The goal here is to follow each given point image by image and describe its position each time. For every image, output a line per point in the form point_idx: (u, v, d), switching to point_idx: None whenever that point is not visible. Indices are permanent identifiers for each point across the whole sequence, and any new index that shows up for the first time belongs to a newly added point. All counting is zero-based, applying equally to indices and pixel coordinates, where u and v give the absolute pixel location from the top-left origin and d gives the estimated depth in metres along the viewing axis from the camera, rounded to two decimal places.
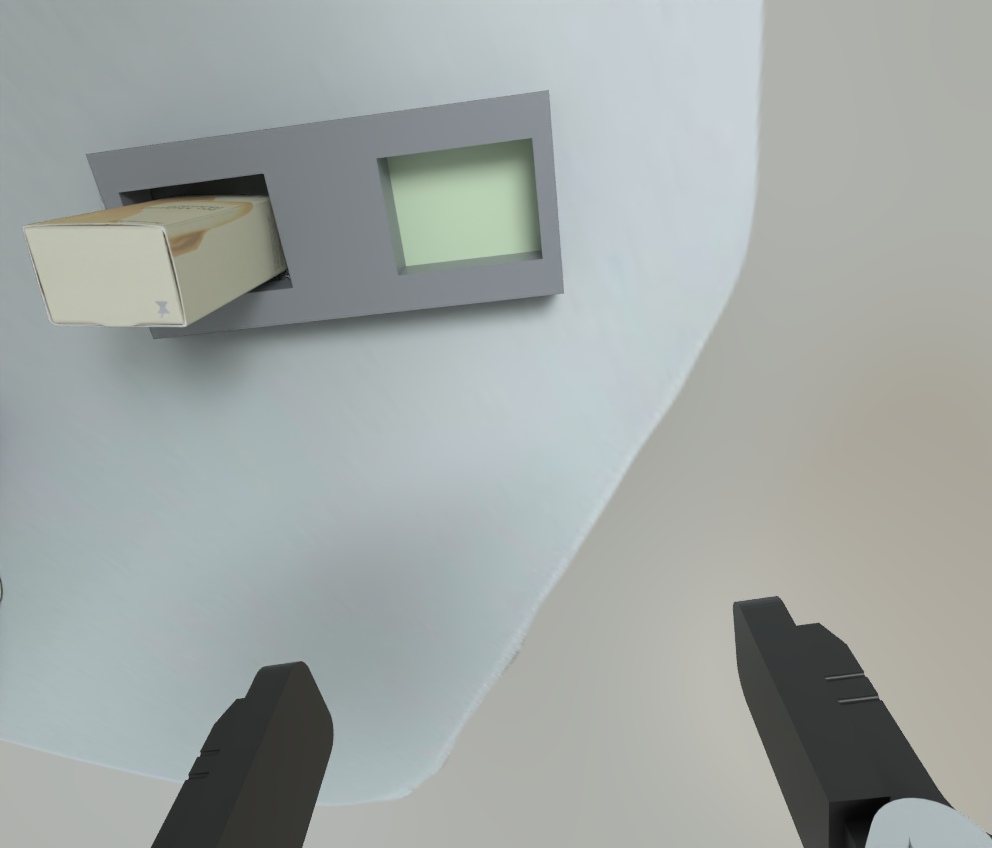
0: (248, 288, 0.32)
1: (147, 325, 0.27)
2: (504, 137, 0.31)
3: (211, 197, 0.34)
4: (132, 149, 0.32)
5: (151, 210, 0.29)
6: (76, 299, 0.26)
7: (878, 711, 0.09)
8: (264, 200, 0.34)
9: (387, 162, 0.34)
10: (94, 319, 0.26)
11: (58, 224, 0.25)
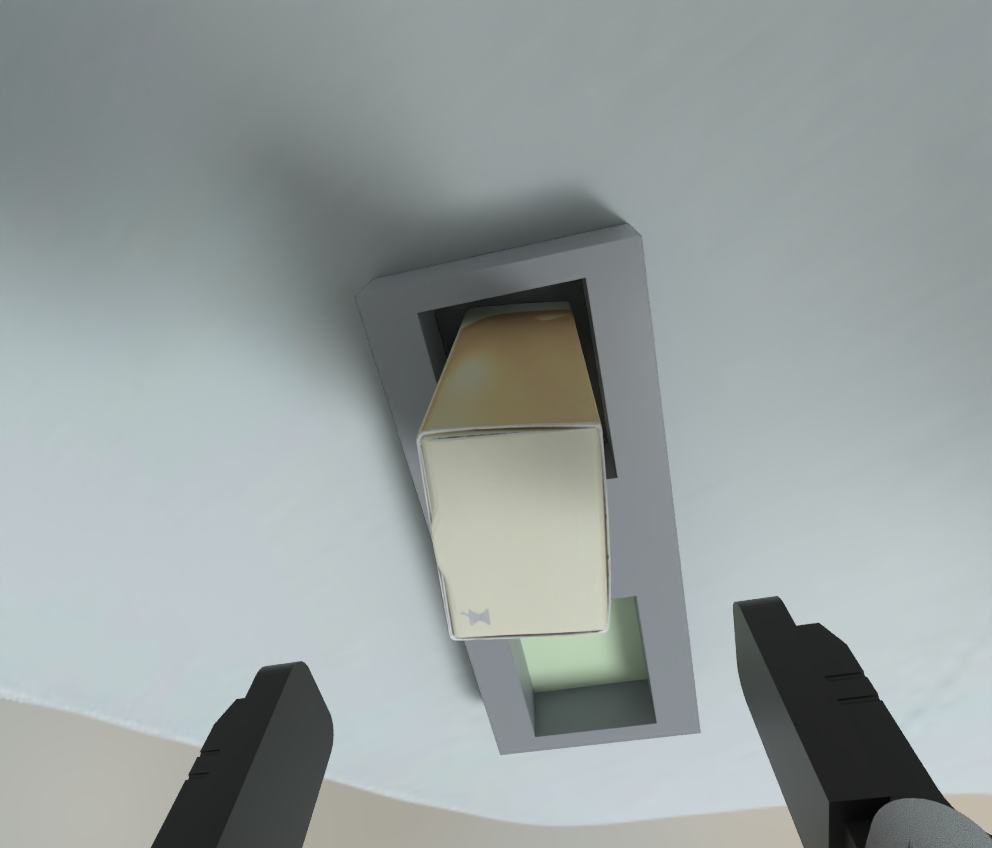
0: None
1: (443, 586, 0.16)
2: (657, 703, 0.30)
3: None
4: (647, 309, 0.22)
5: None
6: (475, 492, 0.14)
7: (878, 711, 0.09)
8: None
9: None
10: (441, 513, 0.15)
11: (605, 482, 0.14)
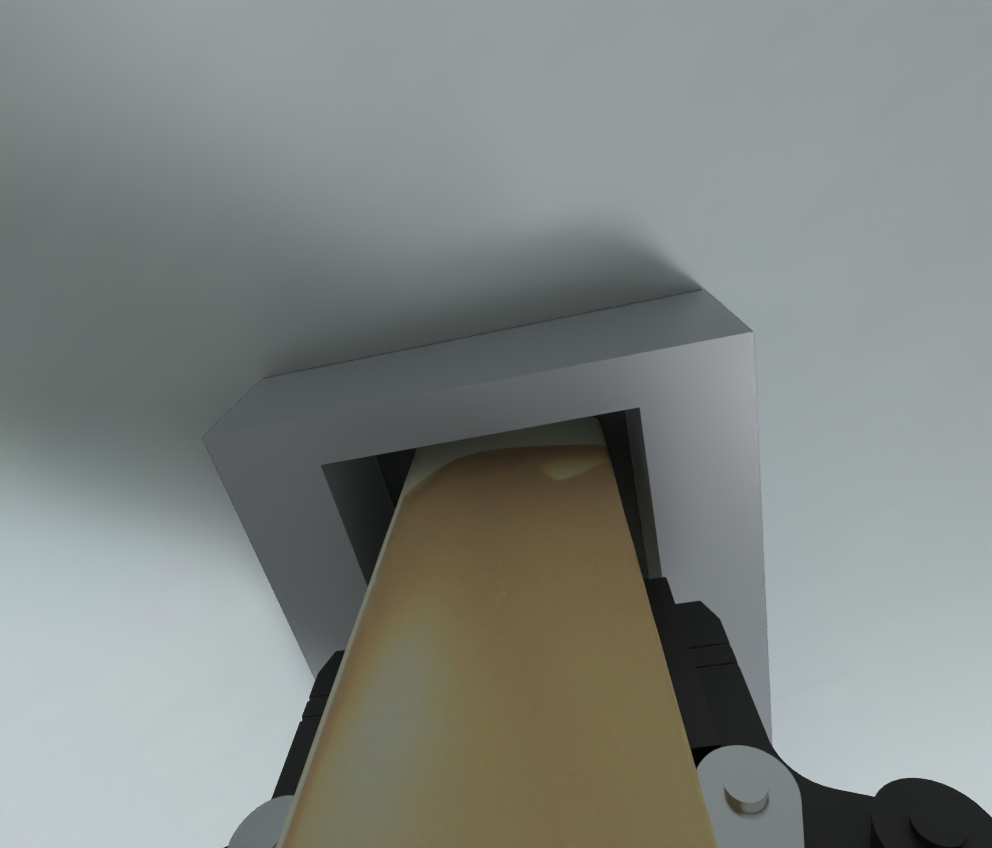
0: None
1: None
2: None
3: None
4: (755, 463, 0.11)
5: None
6: None
7: (734, 676, 0.10)
8: None
9: None
10: None
11: None
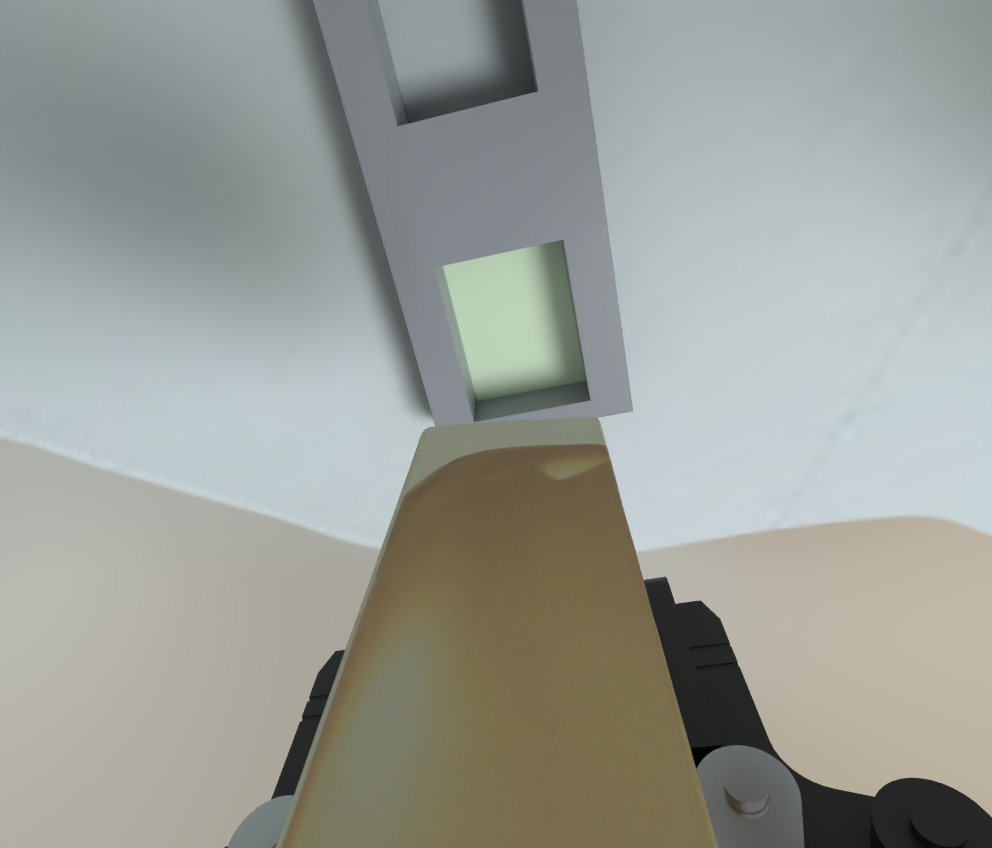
0: None
1: None
2: (590, 374, 0.30)
3: None
4: None
5: None
6: None
7: (734, 676, 0.09)
8: None
9: None
10: None
11: None
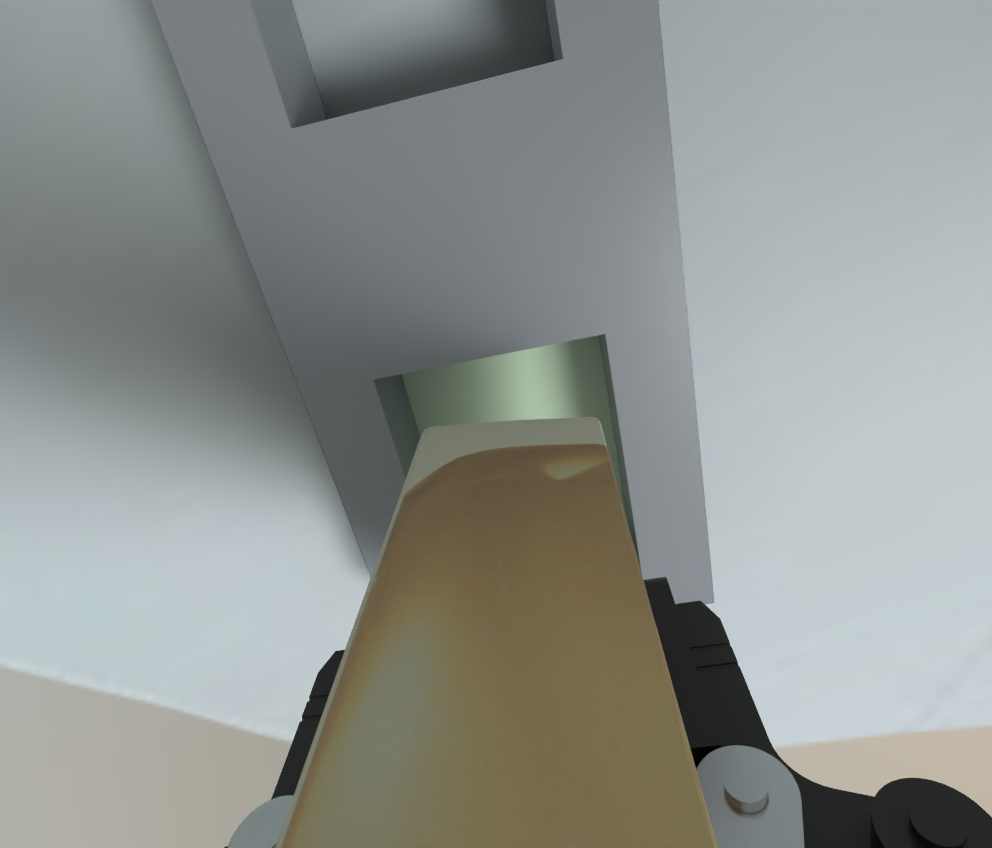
0: None
1: None
2: (644, 548, 0.18)
3: None
4: None
5: None
6: None
7: (734, 676, 0.10)
8: None
9: None
10: None
11: None
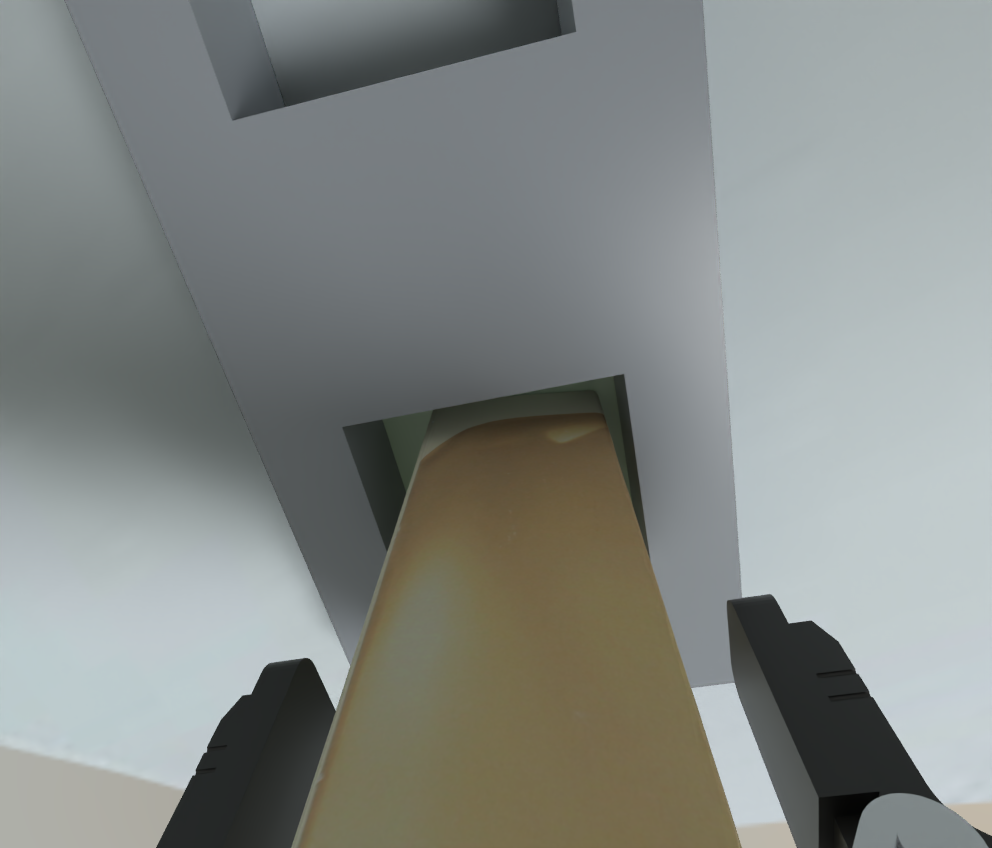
0: None
1: None
2: None
3: None
4: None
5: None
6: None
7: (868, 708, 0.09)
8: None
9: None
10: None
11: None
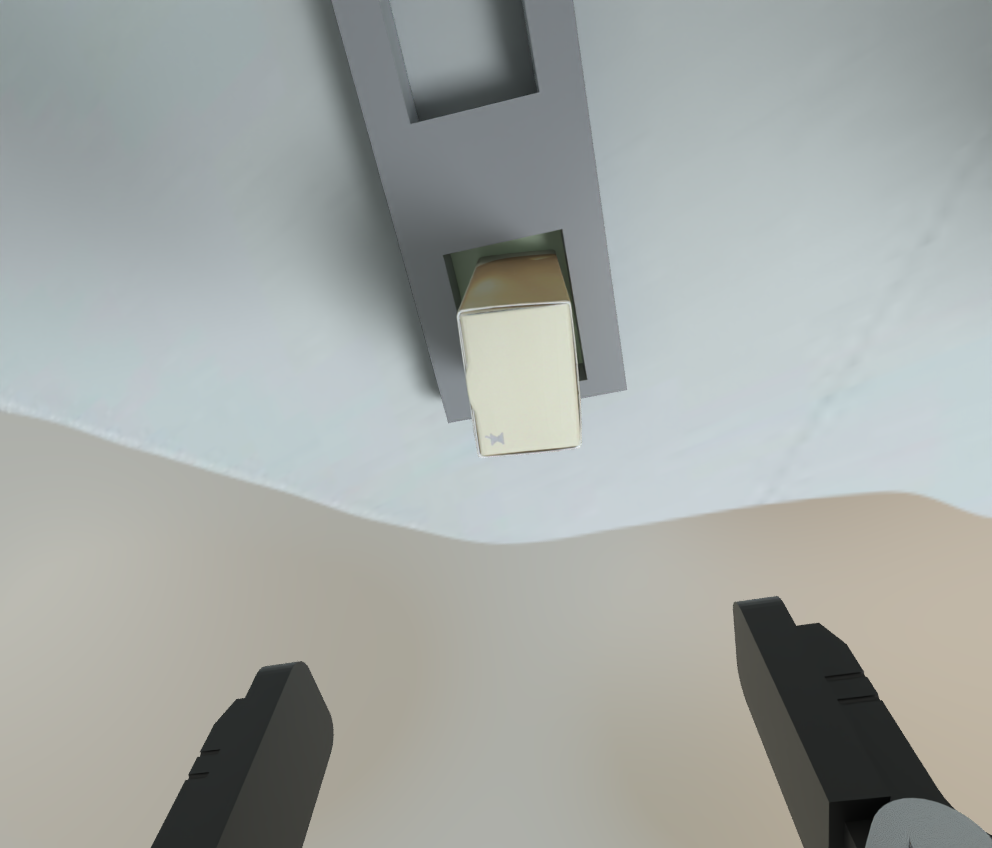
0: None
1: (473, 418, 0.24)
2: (587, 355, 0.33)
3: None
4: None
5: None
6: (493, 349, 0.23)
7: (878, 711, 0.09)
8: None
9: None
10: (472, 365, 0.23)
11: (574, 341, 0.23)
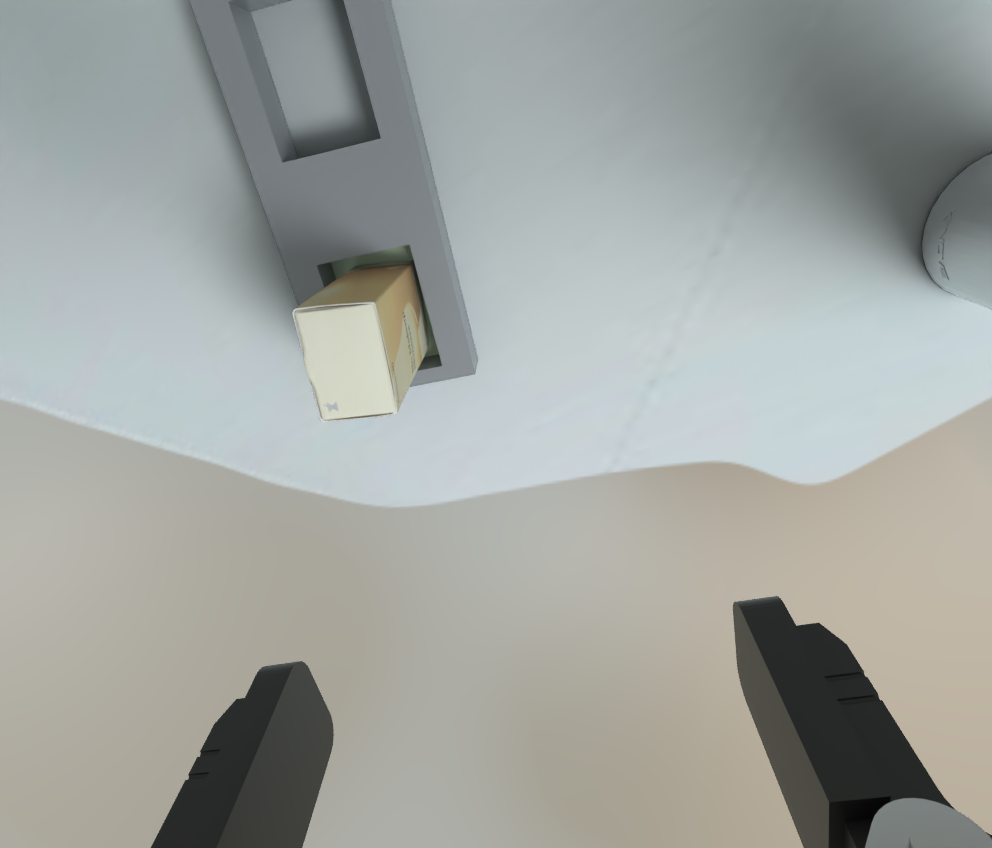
0: None
1: (313, 391, 0.32)
2: (439, 346, 0.40)
3: (419, 310, 0.40)
4: None
5: (403, 335, 0.35)
6: (322, 338, 0.31)
7: (878, 711, 0.09)
8: None
9: None
10: (307, 350, 0.31)
11: (381, 332, 0.31)
